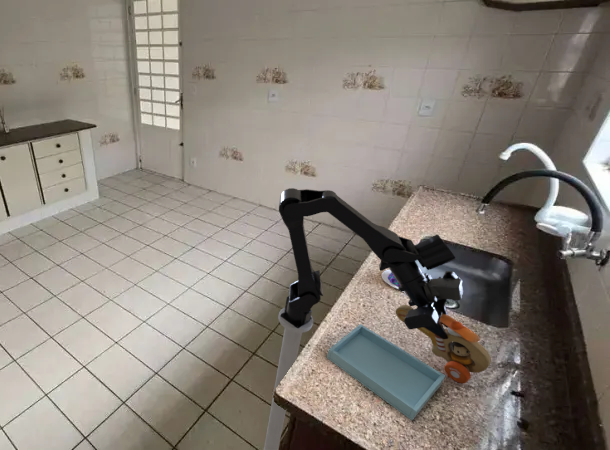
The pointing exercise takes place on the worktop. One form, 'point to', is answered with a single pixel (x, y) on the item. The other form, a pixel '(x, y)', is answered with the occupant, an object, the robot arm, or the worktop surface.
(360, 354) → the teal tray
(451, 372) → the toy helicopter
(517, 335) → the worktop surface
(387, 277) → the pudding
